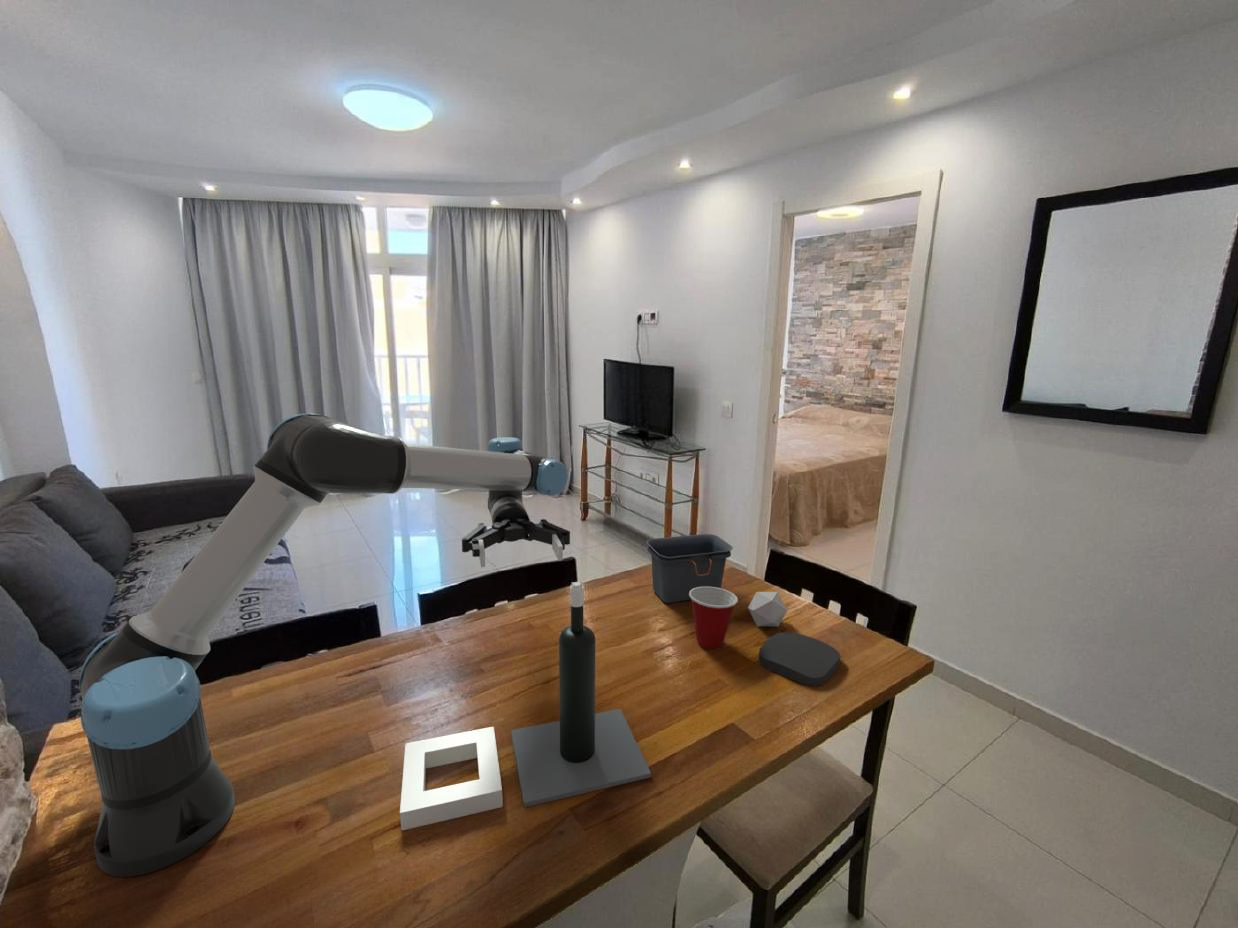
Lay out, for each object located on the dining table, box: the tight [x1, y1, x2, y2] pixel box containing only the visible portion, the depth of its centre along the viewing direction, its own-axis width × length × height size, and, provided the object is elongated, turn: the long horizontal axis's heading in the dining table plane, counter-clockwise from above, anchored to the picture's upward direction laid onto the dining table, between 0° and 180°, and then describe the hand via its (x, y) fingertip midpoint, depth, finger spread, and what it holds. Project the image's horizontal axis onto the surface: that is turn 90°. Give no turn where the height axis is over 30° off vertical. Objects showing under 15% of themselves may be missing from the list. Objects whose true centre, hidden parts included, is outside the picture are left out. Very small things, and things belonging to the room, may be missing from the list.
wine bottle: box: [558, 581, 596, 763], centre depth 89 cm, size 6×6×30 cm
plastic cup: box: [689, 586, 739, 650], centre depth 125 cm, size 11×11×12 cm
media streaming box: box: [758, 631, 841, 687], centre depth 119 cm, size 15×15×3 cm
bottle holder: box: [399, 726, 504, 831], centre depth 86 cm, size 14×14×3 cm
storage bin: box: [645, 533, 734, 604], centre depth 147 cm, size 21×16×14 cm
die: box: [747, 591, 788, 628], centre depth 134 cm, size 8×9×10 cm
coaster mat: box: [510, 708, 652, 808], centre depth 92 cm, size 20×16×1 cm
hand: (522, 556), depth 98 cm, fingers open, 13 cm apart
